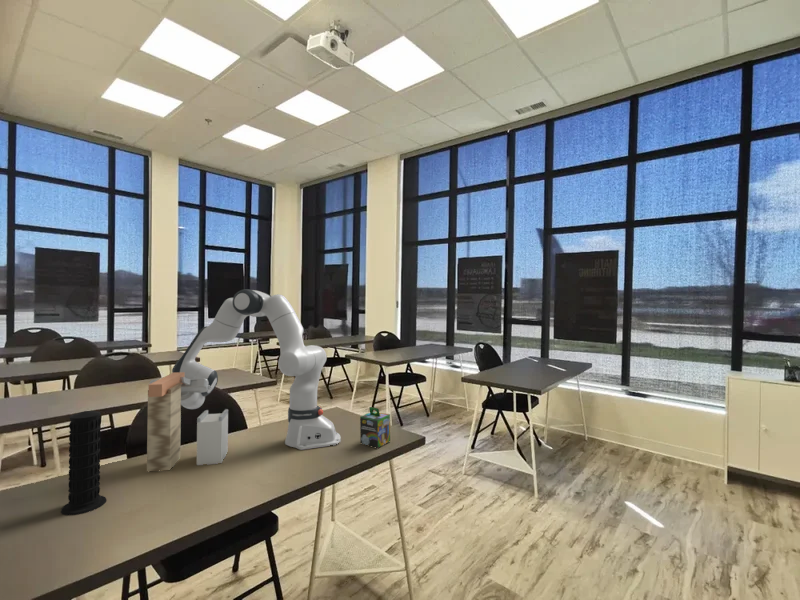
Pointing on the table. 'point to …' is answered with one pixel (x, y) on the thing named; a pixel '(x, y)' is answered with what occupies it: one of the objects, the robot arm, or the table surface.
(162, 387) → the shaft
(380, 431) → the chalk box
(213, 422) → the yoke block
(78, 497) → the handle grip
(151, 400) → the block
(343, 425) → the table surface
